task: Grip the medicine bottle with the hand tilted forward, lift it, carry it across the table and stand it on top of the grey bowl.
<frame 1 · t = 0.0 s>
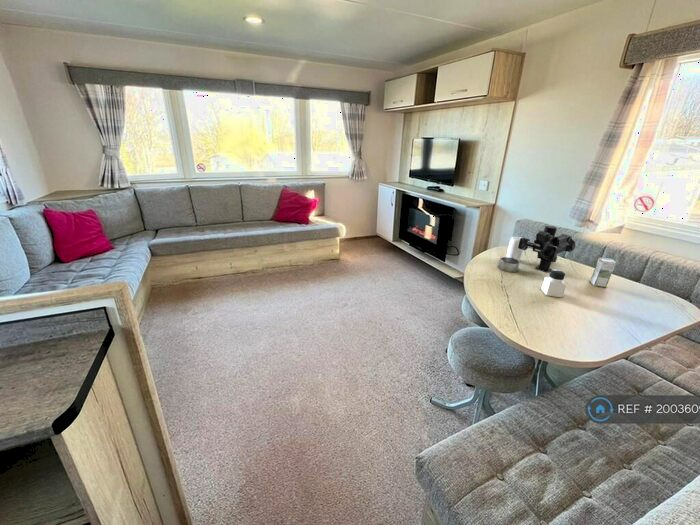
hand: (529, 250, 162), 17 cm above the table, tool horizontal, fingers open, 9 cm apart
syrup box: (597, 284, 166), on the table
grey bowl: (507, 268, 182), on the table
cup: (512, 260, 196), on the table
medicine bottle: (551, 293, 154), on the table
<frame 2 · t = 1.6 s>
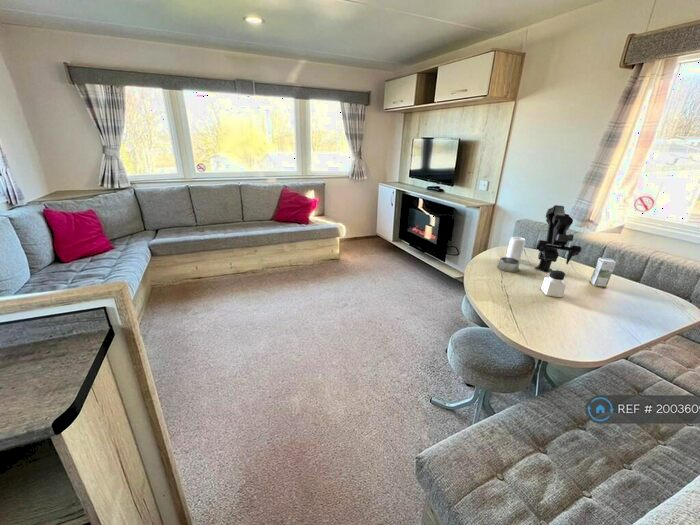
hand: (556, 262, 155), 14 cm above the table, tool tilted 45°, fingers open, 9 cm apart
nothing on the table moved.
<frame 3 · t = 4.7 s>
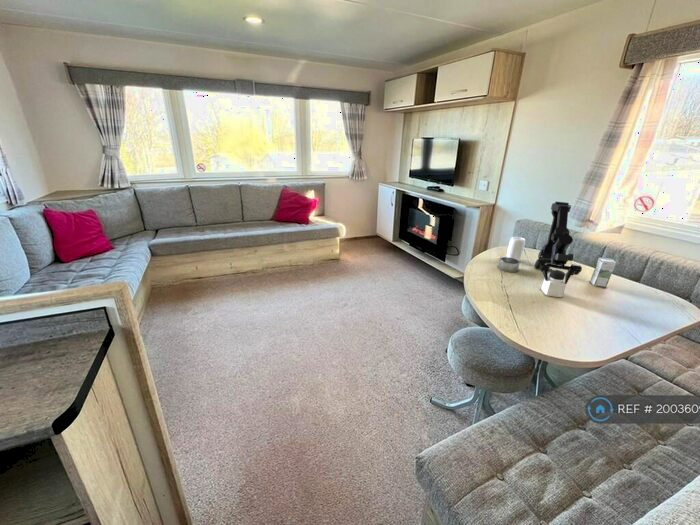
hand: (555, 282, 150), 7 cm above the table, tool tilted 45°, fingers closed on medicine bottle, 8 cm apart
medicine bottle: (551, 293, 154), on the table, touching gripper
everything else where it was.
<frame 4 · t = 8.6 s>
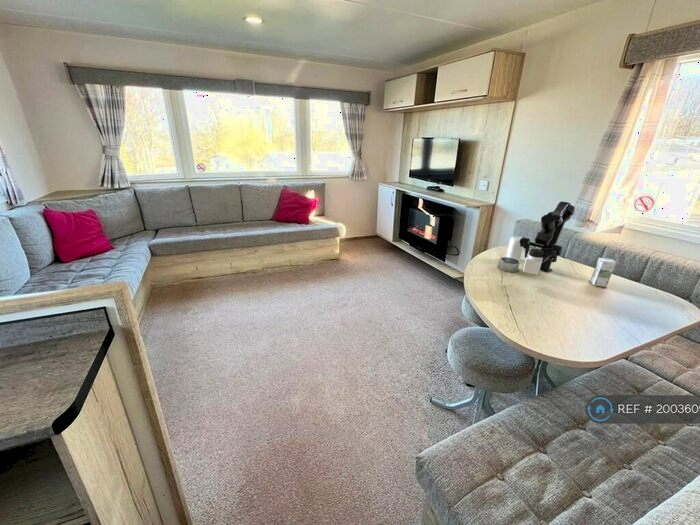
hand: (533, 259, 156), 14 cm above the table, tool tilted 45°, fingers closed on medicine bottle, 8 cm apart
medicine bottle: (530, 271, 160), point 7 cm above the table, touching gripper
everything else where it was.
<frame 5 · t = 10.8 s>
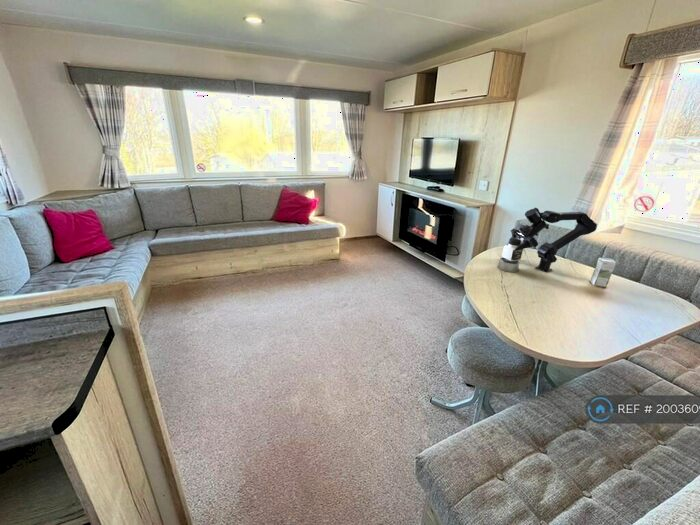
hand: (511, 247, 175), 13 cm above the table, tool tilted 45°, fingers closed on medicine bottle, 8 cm apart
medicine bottle: (510, 258, 178), point 7 cm above the table, touching gripper
everything else where it was.
when the fingers open (12 cm above the table, at t = 12.6 s): medicine bottle stays where it is, resting on grey bowl.
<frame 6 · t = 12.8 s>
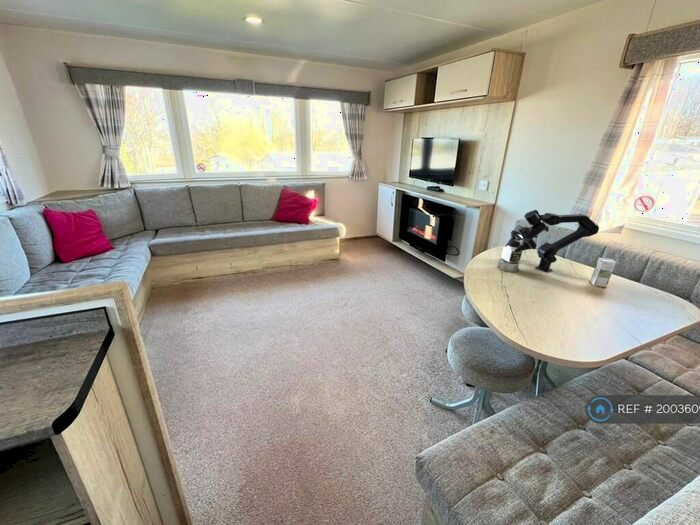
hand: (510, 248, 177), 12 cm above the table, tool tilted 45°, fingers open, 9 cm apart
medicine bottle: (509, 260, 180), point 5 cm above the table, touching grey bowl
everything else where it was.
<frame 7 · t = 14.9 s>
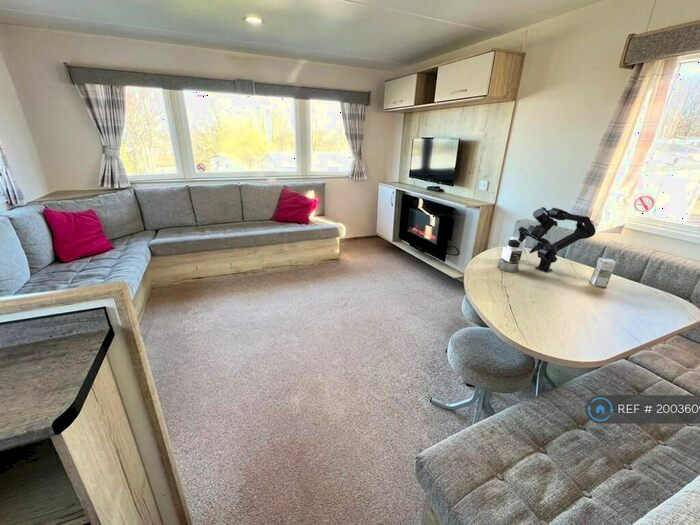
hand: (522, 249, 175), 13 cm above the table, tool tilted 35°, fingers open, 9 cm apart
medicine bottle: (510, 260, 180), point 5 cm above the table, touching grey bowl, gripper
everything else where it was.
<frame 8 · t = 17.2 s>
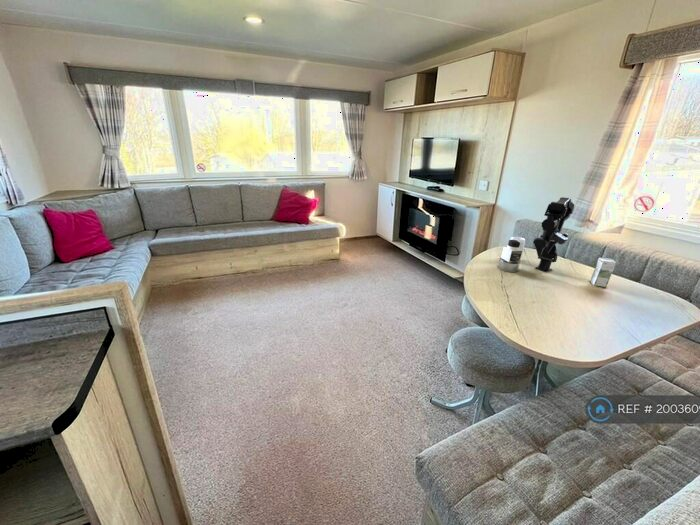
hand: (542, 254, 167), 13 cm above the table, tool pointing down, fingers open, 9 cm apart
medicine bottle: (510, 260, 180), point 5 cm above the table, touching grey bowl
everything else where it was.
at the end: medicine bottle 0.1 cm off-centre on the grey bowl, point 5.1 cm above the grey bowl's base; medicine bottle tilted 0°; the gripper is holding nothing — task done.
